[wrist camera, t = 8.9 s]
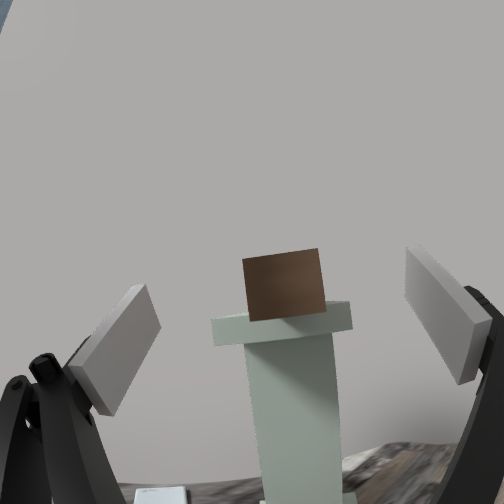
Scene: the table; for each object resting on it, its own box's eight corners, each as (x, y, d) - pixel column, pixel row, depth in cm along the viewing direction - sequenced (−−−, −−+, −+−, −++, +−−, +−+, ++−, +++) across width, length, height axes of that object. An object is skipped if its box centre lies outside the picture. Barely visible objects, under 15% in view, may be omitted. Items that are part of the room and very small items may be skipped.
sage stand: (242, 577, 18) (191, 320, 23) (262, 504, 33) (235, 313, 38) (369, 568, 16) (369, 297, 21) (353, 495, 32) (341, 299, 36)
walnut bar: (249, 322, 12) (242, 259, 12) (282, 307, 35) (279, 286, 36) (326, 311, 12) (317, 248, 12) (308, 304, 35) (305, 282, 36)
